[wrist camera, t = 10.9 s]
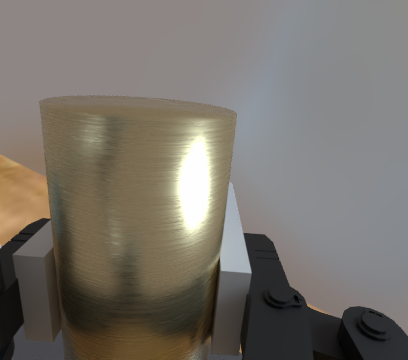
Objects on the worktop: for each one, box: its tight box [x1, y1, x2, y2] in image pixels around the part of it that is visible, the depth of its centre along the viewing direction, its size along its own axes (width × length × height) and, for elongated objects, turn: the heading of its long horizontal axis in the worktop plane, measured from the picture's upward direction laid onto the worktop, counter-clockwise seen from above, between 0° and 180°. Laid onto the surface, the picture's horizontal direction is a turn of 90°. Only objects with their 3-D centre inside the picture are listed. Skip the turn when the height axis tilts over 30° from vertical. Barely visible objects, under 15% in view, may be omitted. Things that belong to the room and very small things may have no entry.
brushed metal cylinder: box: [39, 96, 237, 360], centre depth 9 cm, size 4×4×12 cm
